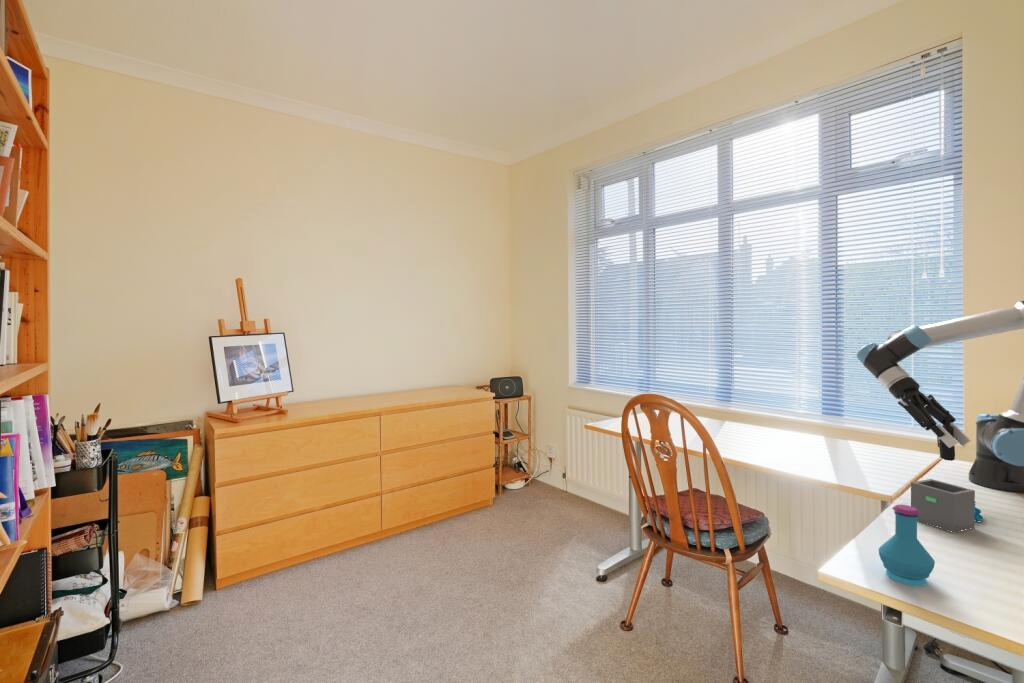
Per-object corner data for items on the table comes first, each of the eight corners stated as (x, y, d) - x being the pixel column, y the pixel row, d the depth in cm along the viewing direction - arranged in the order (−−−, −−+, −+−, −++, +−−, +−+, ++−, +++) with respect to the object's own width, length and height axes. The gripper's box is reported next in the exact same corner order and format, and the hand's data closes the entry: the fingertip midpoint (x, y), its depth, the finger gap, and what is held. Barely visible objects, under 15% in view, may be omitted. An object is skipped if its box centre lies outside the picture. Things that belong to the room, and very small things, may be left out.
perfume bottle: (939, 593, 95) (940, 519, 94) (881, 581, 100) (881, 510, 99) (929, 572, 102) (930, 504, 102) (875, 562, 107) (876, 496, 107)
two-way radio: (955, 462, 140) (954, 411, 140) (935, 459, 143) (933, 410, 143) (954, 457, 144) (953, 408, 144) (935, 455, 147) (933, 407, 147)
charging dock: (930, 514, 133) (930, 478, 133) (974, 528, 124) (974, 490, 123) (909, 518, 130) (910, 482, 130) (953, 533, 121) (953, 494, 121)
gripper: (909, 388, 161) (969, 447, 146) (871, 392, 155) (929, 454, 140) (927, 374, 156) (991, 434, 140) (888, 377, 150) (950, 440, 135)
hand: (960, 444), depth 140 cm, fingers closed on two-way radio, 5 cm apart
